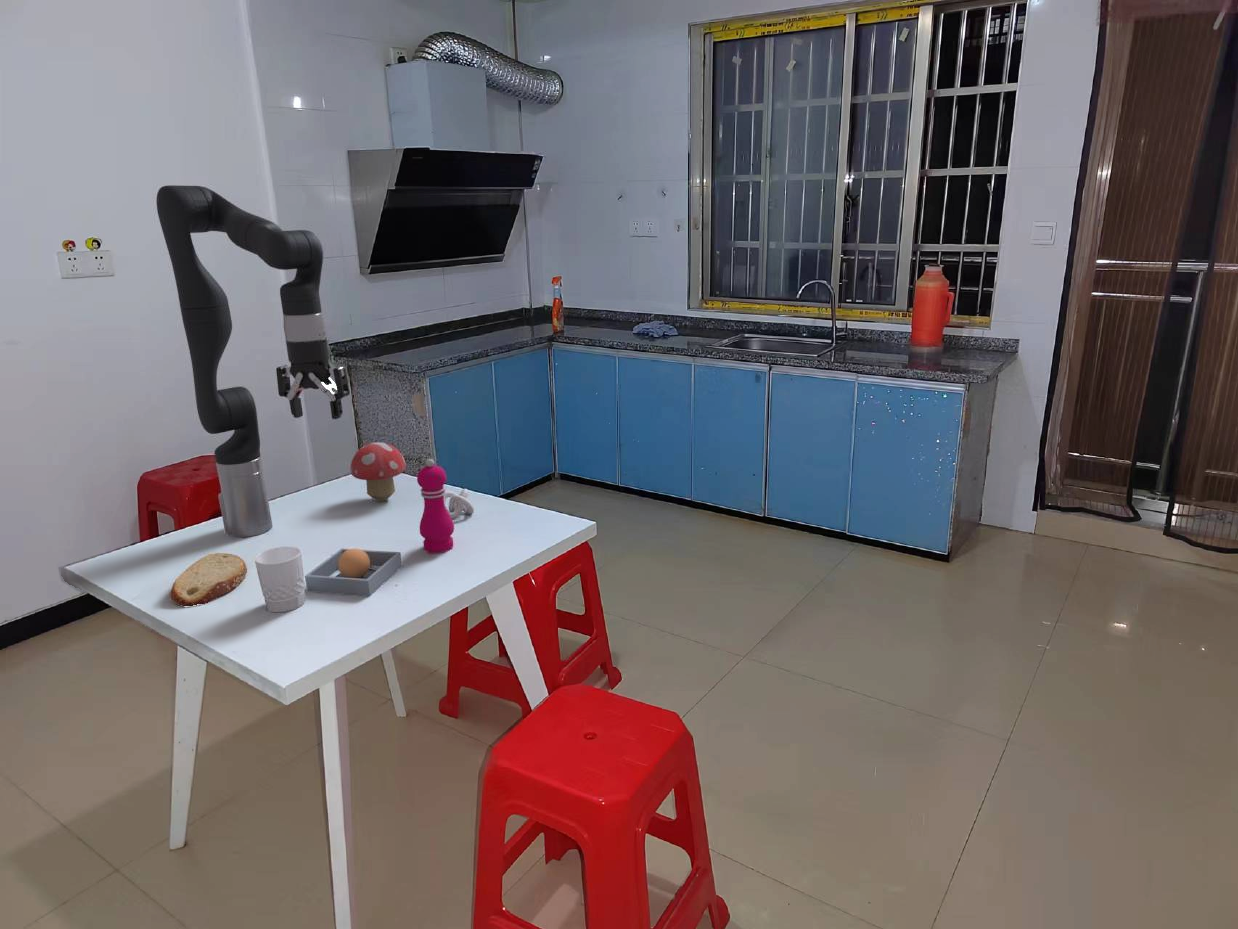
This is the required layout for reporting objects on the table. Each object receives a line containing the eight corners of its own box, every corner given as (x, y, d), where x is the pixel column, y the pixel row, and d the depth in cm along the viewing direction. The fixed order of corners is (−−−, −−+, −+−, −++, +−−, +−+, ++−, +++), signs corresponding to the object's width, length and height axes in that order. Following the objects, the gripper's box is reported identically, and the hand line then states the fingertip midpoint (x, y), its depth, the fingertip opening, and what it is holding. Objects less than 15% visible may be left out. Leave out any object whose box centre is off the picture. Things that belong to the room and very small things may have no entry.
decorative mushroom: (420, 496, 202) (414, 439, 197) (381, 512, 191) (374, 453, 186) (383, 488, 208) (376, 433, 204) (343, 504, 197) (335, 447, 193)
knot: (445, 523, 183) (443, 500, 182) (436, 512, 190) (434, 490, 188) (476, 517, 187) (474, 494, 185) (466, 507, 193) (464, 484, 192)
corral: (307, 591, 151) (304, 576, 150) (343, 562, 164) (341, 548, 163) (370, 596, 149) (368, 580, 148) (402, 566, 161) (400, 552, 160)
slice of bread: (226, 557, 169) (223, 541, 167) (276, 576, 159) (273, 559, 158) (139, 590, 154) (135, 572, 153) (188, 613, 145) (184, 594, 144)
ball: (333, 583, 154) (330, 555, 152) (349, 569, 159) (346, 542, 158) (361, 585, 153) (358, 557, 151) (377, 572, 158) (373, 544, 156)
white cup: (263, 617, 142) (254, 567, 138) (263, 599, 148) (254, 550, 145) (309, 608, 144) (301, 558, 141) (307, 591, 151) (300, 543, 148)
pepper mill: (462, 546, 170) (454, 458, 164) (434, 557, 165) (424, 466, 159) (443, 538, 175) (434, 452, 169) (415, 548, 170) (405, 459, 164)
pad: (323, 587, 153) (323, 586, 153) (347, 567, 161) (347, 566, 161) (365, 590, 151) (365, 589, 151) (387, 570, 159) (387, 569, 159)
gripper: (261, 339, 151) (274, 421, 156) (328, 340, 148) (339, 423, 153) (284, 334, 158) (296, 412, 163) (349, 334, 155) (359, 414, 160)
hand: (317, 417), depth 158 cm, fingers open, 8 cm apart
